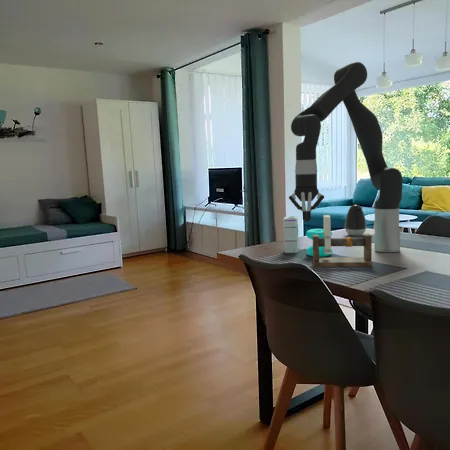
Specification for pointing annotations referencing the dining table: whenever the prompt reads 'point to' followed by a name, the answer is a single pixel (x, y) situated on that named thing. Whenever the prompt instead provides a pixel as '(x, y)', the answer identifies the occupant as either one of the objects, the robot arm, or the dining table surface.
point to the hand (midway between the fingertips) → (306, 221)
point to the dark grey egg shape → (355, 221)
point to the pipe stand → (343, 260)
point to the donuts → (310, 236)
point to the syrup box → (291, 234)
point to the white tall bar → (327, 234)
